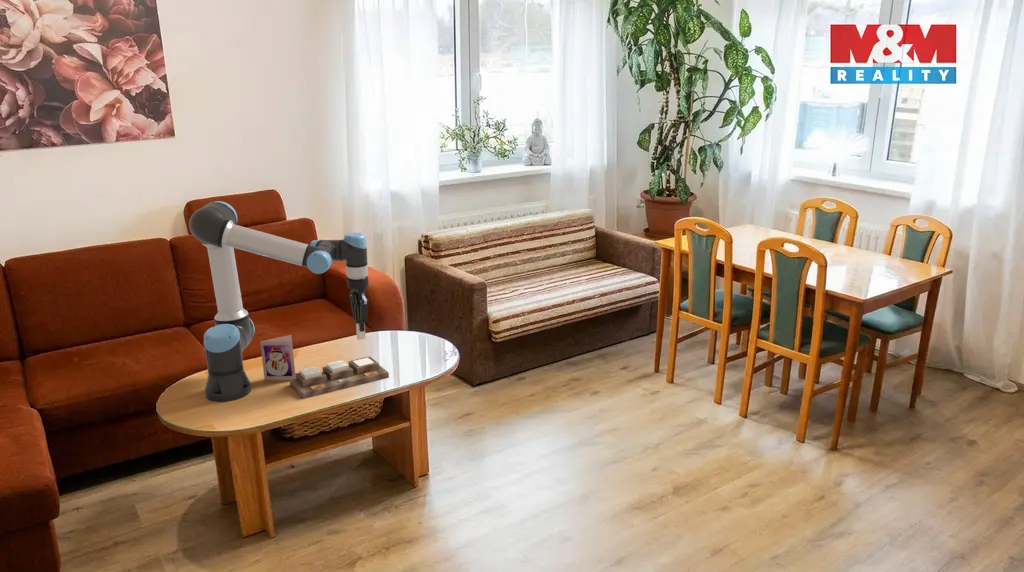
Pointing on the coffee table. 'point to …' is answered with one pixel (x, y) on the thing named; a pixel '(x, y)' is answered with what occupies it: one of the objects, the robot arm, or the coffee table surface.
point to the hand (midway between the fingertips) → (361, 338)
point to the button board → (338, 379)
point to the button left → (310, 372)
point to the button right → (363, 362)
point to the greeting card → (278, 358)
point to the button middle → (337, 366)
